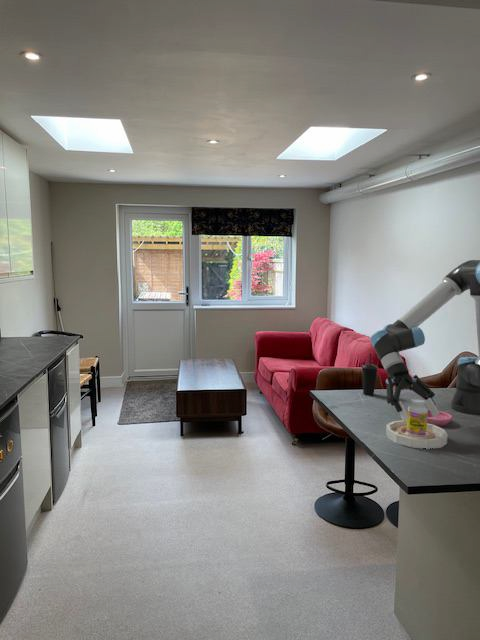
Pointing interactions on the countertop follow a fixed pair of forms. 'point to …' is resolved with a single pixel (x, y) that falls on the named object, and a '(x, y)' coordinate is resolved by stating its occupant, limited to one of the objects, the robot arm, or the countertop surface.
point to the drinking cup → (369, 377)
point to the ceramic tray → (432, 439)
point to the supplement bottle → (417, 418)
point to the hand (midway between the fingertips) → (421, 417)
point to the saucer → (439, 418)
